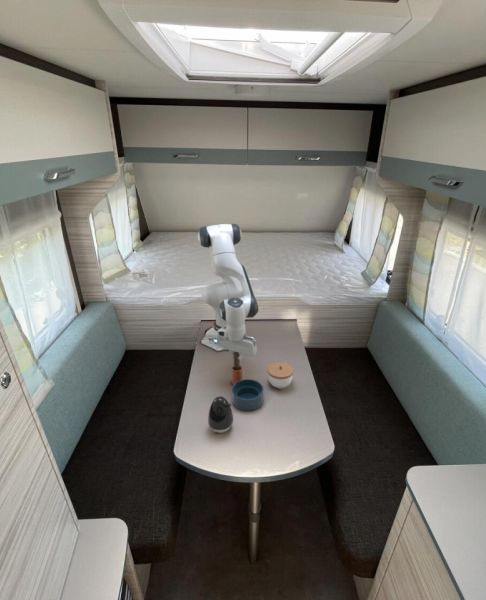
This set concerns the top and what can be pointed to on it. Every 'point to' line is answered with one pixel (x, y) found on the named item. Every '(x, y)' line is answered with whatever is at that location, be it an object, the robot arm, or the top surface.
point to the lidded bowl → (280, 374)
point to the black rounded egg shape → (220, 415)
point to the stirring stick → (236, 361)
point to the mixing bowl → (247, 394)
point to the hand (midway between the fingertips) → (236, 358)
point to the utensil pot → (237, 375)
